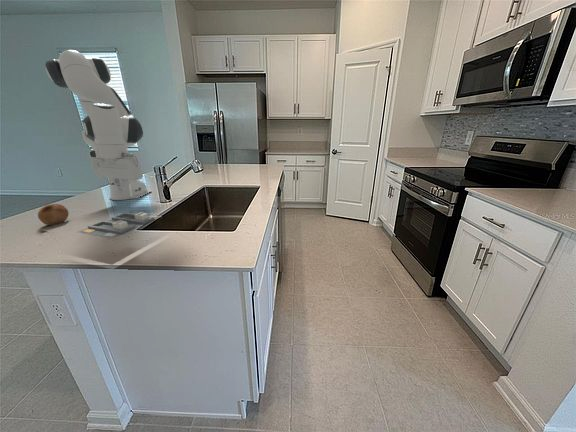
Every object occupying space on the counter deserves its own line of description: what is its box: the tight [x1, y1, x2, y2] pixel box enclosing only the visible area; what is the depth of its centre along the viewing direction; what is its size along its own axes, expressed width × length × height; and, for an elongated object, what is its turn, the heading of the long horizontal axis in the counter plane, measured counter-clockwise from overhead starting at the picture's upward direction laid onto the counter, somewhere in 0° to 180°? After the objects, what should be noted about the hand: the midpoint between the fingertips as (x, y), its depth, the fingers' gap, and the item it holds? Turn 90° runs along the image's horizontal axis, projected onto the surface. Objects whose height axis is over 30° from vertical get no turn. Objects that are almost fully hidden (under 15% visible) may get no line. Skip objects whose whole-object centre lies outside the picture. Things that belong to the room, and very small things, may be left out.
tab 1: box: [112, 220, 128, 230], centre depth 95 cm, size 3×4×4 cm
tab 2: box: [134, 211, 149, 221], centre depth 104 cm, size 3×4×4 cm
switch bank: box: [77, 211, 163, 239], centre depth 102 cm, size 24×18×2 cm
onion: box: [37, 203, 69, 226], centre depth 102 cm, size 10×9×10 cm
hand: (121, 190), depth 91 cm, fingers closed
